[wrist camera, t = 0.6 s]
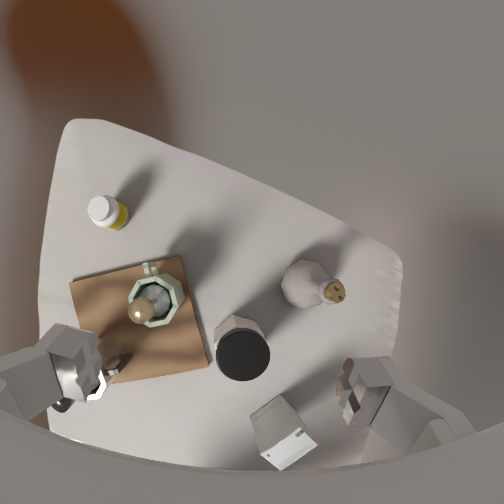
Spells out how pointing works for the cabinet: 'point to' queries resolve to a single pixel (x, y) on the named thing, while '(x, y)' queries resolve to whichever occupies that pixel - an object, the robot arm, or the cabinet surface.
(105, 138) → the cabinet surface
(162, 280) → the pale green octagonal mug
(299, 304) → the potion bottle
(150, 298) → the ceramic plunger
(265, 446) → the skincare box
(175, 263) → the serving board
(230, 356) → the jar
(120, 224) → the supplement bottle
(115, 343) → the steel press
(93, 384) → the steel plunger
